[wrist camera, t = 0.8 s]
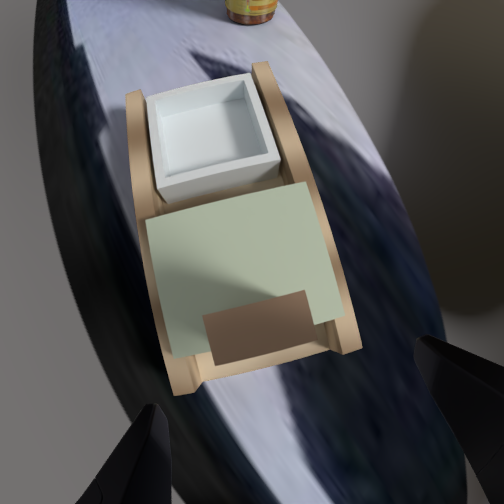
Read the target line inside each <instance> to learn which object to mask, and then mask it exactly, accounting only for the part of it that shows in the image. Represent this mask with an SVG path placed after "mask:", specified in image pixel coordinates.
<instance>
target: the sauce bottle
mask: <svg viewBox="0 0 504 504" xmlns="http://www.w3.org/2000/svg"><path fill="white" fill-rule="evenodd" d="M277 1H278V0H225V5H226V7H227V15H228V17H229V18H230V19H231V20H233V21H234V22H238V23H241V24H247V25H248V24H250V25H251V24H261V23H264V22H267V21H269V20H271V19H272V17H273V15H274V13H275V9H276V8H277Z"/></svg>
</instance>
